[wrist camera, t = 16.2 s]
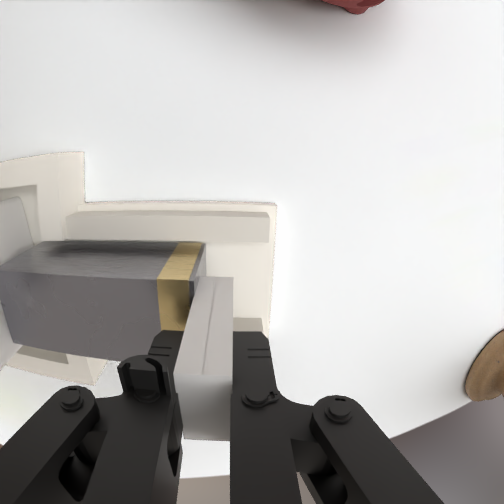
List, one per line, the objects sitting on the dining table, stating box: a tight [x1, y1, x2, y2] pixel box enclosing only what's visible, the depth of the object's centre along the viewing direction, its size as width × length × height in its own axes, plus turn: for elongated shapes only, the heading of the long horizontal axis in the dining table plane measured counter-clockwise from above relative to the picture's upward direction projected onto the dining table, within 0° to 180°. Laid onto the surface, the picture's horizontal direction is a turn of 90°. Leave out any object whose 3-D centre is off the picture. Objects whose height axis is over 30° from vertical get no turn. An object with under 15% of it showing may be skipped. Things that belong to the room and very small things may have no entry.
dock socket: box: [0, 152, 277, 386], centre depth 16 cm, size 14×25×3 cm, turn 88°
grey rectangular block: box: [0, 241, 206, 362], centre depth 14 cm, size 4×10×5 cm, turn 88°
